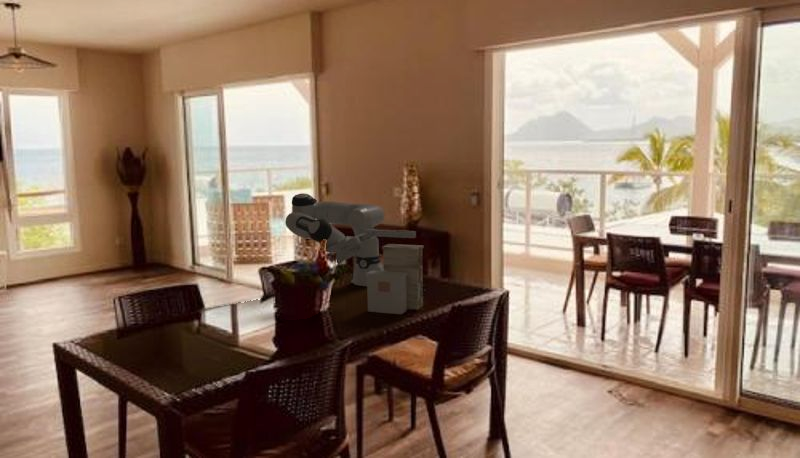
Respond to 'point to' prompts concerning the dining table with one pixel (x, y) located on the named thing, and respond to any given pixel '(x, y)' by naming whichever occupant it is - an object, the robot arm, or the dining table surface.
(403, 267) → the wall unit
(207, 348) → the dining table surface
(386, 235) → the bar
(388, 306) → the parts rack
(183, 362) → the dining table surface
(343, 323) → the dining table surface
